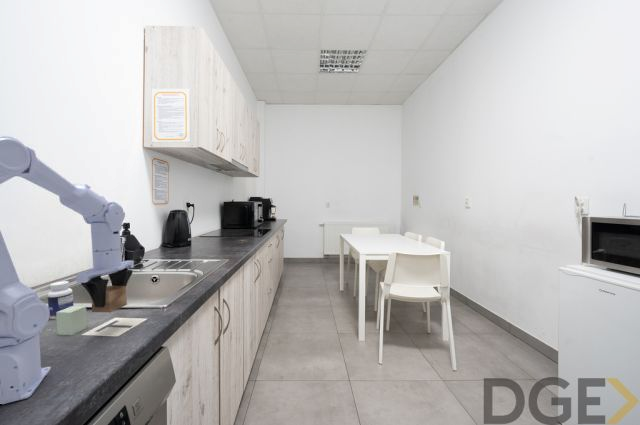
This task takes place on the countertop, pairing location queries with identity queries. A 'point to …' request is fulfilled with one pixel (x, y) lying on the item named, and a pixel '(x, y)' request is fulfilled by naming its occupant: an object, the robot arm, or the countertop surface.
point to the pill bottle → (59, 298)
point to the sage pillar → (71, 320)
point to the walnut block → (112, 299)
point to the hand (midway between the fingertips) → (109, 302)
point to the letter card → (115, 327)
